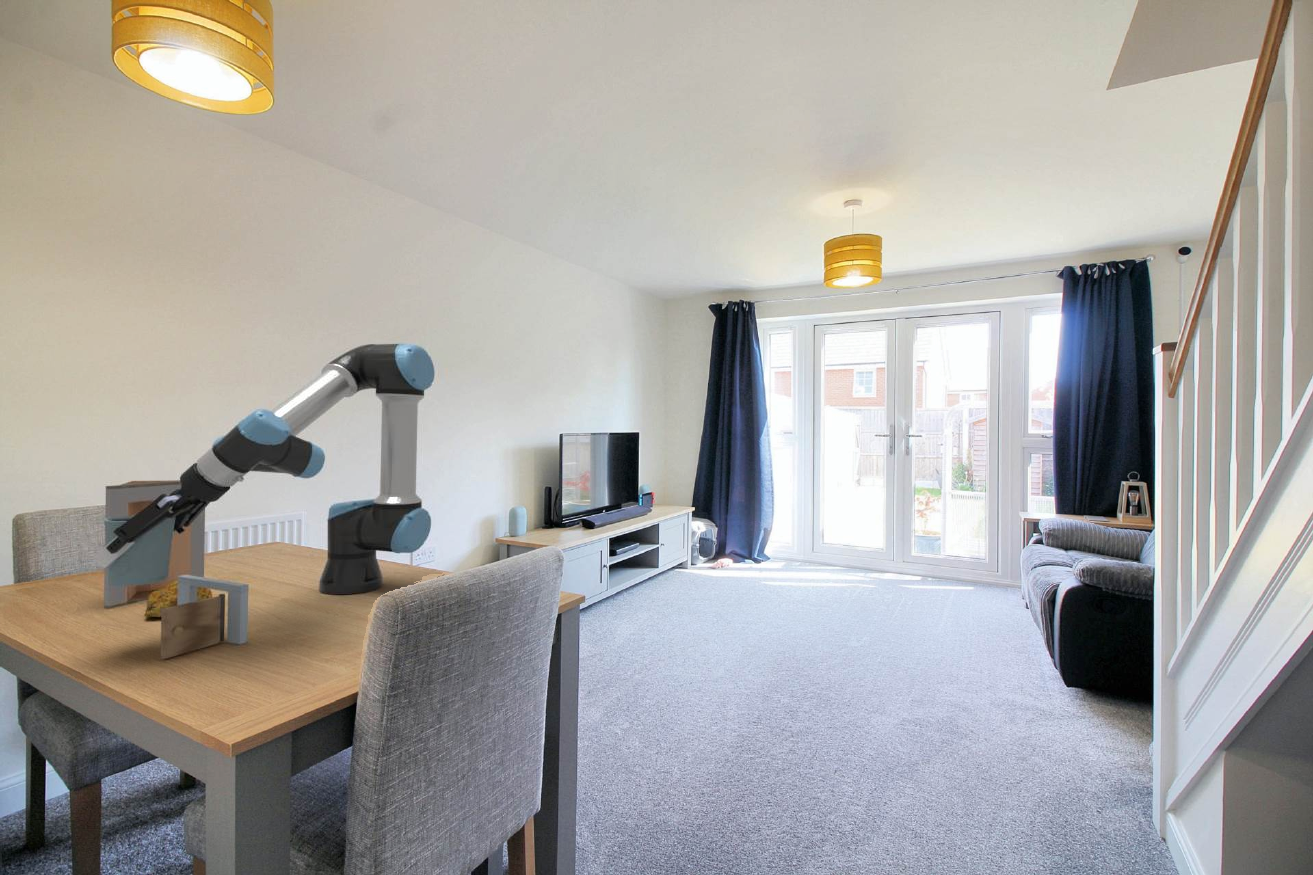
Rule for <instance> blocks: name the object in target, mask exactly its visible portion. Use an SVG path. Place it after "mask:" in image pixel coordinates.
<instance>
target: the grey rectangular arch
mask: <svg viewBox="0 0 1313 875" xmlns="http://www.w3.org/2000/svg"><path fill="white" fill-rule="evenodd" d="M197 587H202V588H208V589H210V590H215V591H222V592H227V630H226V631H227V633H226V634H227V635H226V636H227V637H226V639H227V641H226V642H227V643H230V644H237V645H242V644H245V643H248V635H249V634H248V625H249V623H248V621H249V620H248V619H249V616H248V615H249V584H248V583H241V582H235V581H230V580H222V579H218V578H217V579H215V578H210V577H209V578H208V577H205V576H204V577H198V576H191V575H182V576H178V598H177V605H181V604H186V603H190V602H195V601H197Z"/></svg>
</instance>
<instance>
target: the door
mask: <svg viewBox="0 0 1313 875" xmlns="http://www.w3.org/2000/svg"><path fill="white" fill-rule="evenodd" d="M225 610H226V594H225V593H220V594H218V595H217V596H212V598H208V599H203V600H199V601H195V602H190V603H186V604H181V605H177V606H173V607H168V608H164V609H162V611H161V620H160V626H161V627H160V628H161V629H160V630H161V631H160V659H162V660H165V659H169V658H172V657H175V656H180V655H182V654H186V653H189V652H193V651H197V650H199V649H202V648H206V647H210V646H214V645H217V644H221V642H224V641H225V630H226V629H225V627H226V626H225V622H226V621H225V620H226V611H225Z"/></svg>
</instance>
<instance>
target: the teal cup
mask: <svg viewBox="0 0 1313 875" xmlns="http://www.w3.org/2000/svg"><path fill="white" fill-rule="evenodd" d="M134 516H135V515H129V516H118V517H111V518H107V519H105V518H104V521H103V522H104V534H105V533H106V537H107V538H106V545H107V544H108V543H110V542H111V541H112V540H113V539H114V538H115V537H116V535H115V534H114V533H113V532H114V531H115V529H116V528H119V527H120V526H121V525H123V524H124V523H126V522H127V521H128V520H130V519H131V518H132V517H134ZM174 524H175V517H174V518H167V519H166V520H164V521H163V522H161V523H160V524H158V525H157V526H155V527H154V528H152V529H151V530H149V531H148V532H146V533H145V534H143V535H142V536H140V537H139V538H137V539H136V540H134V542H135V543H134V544H133V545H132V546H131V547H130V548H128V549H127V550H126V551H125V552H124V553H123V554H122V555H121V556H119V557H118V558H117V559H116V560H115V561H114V562H113V563H112V564H111V565H109V566H108V582H109V584H110V585H112V586H136V585H145V584H151V583H156V582H160V581H163V580H165V579H167V577H168V573H169V568H168V567H169V563H170V552H171V546H172V544H171V542H172V537H173V530H174Z"/></svg>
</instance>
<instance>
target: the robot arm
mask: <svg viewBox="0 0 1313 875" xmlns="http://www.w3.org/2000/svg"><path fill="white" fill-rule="evenodd" d="M434 380H435V366H434V363H433V360H432V358H431V355H429V353H428V352H427V350H425V348H424V347H422V346H421V345H417V344H411V343H402V342H401V343H386V344H385V343H381V344H379V343H378V344H375V343H373V344H371V343H369V344H363V345H359V346H357V347H355V348H353V349H350V350H349V351H346V352H345V353H342V354H341V355H339V356H337V357H336V358H334V359H333V360H331V361H330V362H329V363H327V364H326V365H325V366H323V368H322V369H321V374H319V375H318V376H316V378H314V379H313V380H312V381H310V382H309V383H307V384H306V385H304V386H303V387H302V388H300V389H299V390H298V391H297V392H295V393H293V394H292V395H291V396H289V397H288V398H286V399H285V400H284V401H282V402H281V403H279V404H278V405H277V406H275V407H274V408H273V409H271V410H268V409H266V408H258V409H255V410H254V411H252V412H251V413H250V414H249V415H247V416H246V417H244V418H243V419H241V420H240V421H239V422H238V423H237V424H236V425H235V426H234V427H233V428H232V429H231V430H230V431H229V432H227V434H225V435H221V436H220V437H218V438H216V439H215V441H214V442H213V444H212V446H211V448H209V449H208V450H207V451H206V452H205V453H204V454H203V455H201V456H200V457H199V458H198V459H197V461H196V462H194V463H193V464H192V465H190V466H189V467H188V468H187V469H186V470H185V471H183V473H181V475H180V476H179V480H180V482H181V489H177V490H175V491H174V492H172V493H171V494H170V495H169V496H167V495H166V494H161V495H160V496H159V497H158V498H157V499H156V500H155V501H154V502H153V503H151V504H150V505H149V506H147V507H146V508H144V509H143V510H142V511H140V512H139V513H138V514H136V515H135V516H134V517H132V518H131V519H130V520H128V521H127V522H126V523H124V524H123V525H121V526H120V527H119V528H116V529H115V531H114V532H113V533H114V534H115V535H116V537H115V538H114V539H113V540H112V541H111V542H110V543H108V544H107V545H106V546H105V545H104V547H103V548H102V549H100V551H98V552H97V553H96V554H95V555H94V556H92V559H93V560H94V561H95V562H96V563H98V564H99V565H100V566H101V567H102V568H103V569H104V568H107V567H108V566H109V565H111V564H112V563H113V562H114V561H115V560H116V559H117V558H118V557H119V556H121V555H122V554H123V553H124V552H125V551H126V550H127V549H128V548H130V547H131V546H132V545H133V544H134V543H135V542H134V540H136V539H137V538H139V537H140V536H142V535H143V534H145V533H146V532H148V531H149V530H151V529H152V528H154V527H155V526H157V525H158V524H160V523H161V522H163V521H164V520H166V519H167V518H174V517H175V524H174V530H173V534H174V533H175V532H174V531H175V530H176V531H177V532H178V533H179V534H181V533H182V532H184V531H185V530H184V529H183V528H182V527H183V526H184V527H188V526H189V525H190V524H191V523H192V522H193V521H194V520H195V519H196V517H197V516H198V515H199V514H200V513H201V512H202V511H203V510H204V509H205V510H206V508H207V507H208V505H209V504H210V503H215V502H217V501H219V499H220V498H222V497H223V496H224V495H225V494H226V493H227V492H229V491H230V489H231V487H233V486H235V485H236V484H237V483H238V482H241V483H242V482H243V481H244V479H245V478H244V476H245V475H247V474H248V473H250V472H259V473H260V472H261V473H271V474H272V473H273V474H274V473H275V474H286V475H287V474H288V475H291V476H292V477H294V478H301V479H311V478H314V477H315V476H317V475H318V474H319V473H320V472H321V471H322V469H323V468H324V464H325V461H326V455H325V453H324V450H323V449H322V448H321V447H320V446H318V445H316V444H314V443H313V442H311V441H308V440H305V439H303V438H300V437H298V435H299V434H300V433H301V432H303V431H304V430H305V429H306V428H308V427H309V426H310V425H311V424H313V423H314V422H315V421H317V420H318V419H319V418H321V417H322V416H323V415H324V414H325V413H326V412H327V411H329V410H330V409H332V408H333V407H334V406H335V405H336V404H338V403H339V402H340V401H341V400H342V399H344V398H350V397H353V396H355V394H357V393H358V392H361V391H365V390H369V389H375V396H376V397H377V398H378V399H379V400H380V401H381V427H380V428H381V432H380V435H381V436H380V438H381V439H380V440H381V441H380V478H379V479H380V480H379V481H380V482H379V483H380V484H379V486H380V488H379V495H378V496H377V497H376V498H375V499H372V498H369V499H360V500H351V501H344V502H343V501H342V502H338V503H334V504H332V505H330V507H329V508H328V516H327V519H326V520H327V521H326V522H327V556H326V557H327V558H326V559H327V560H326V563H325V565H324V568H323V570H322V573H321V576H320V579H319V582H318V585H319V586H318V590H319V592H321V593H323V594H328V595H351V594H352V595H353V594H362V593H367V592H370V591H374V590H377V589H379V588H381V587H382V586H383V585H384V584H383V583H384V582H383V581H384V580H383V579H384V577H383V573H382V570H381V568H380V564H379V562H378V558H377V552H379V551H380V552H386V553H387V552H389V553H393V554H394V553H395V554H401V553H402V554H411V553H415V552H416V551H418V550H419V549H420V548H422V547H423V546H424V544H425V543H426V541H427V539H428V538H429V534H430V533H431V528H432V518H431V515H430V513H429V511H428V510H426V509H425V508H422V507H423V506H422V505H423V502H422V498H420V496H418V494H417V461H418V460H417V458H418V457H417V453H418V451H417V450H418V443H417V442H418V408H419V403H420V401H422V400H423V399H424V398H425V391H426V390H427V389H429V388H431V386H432V385H433V384H432V383H433V382H434ZM169 509H170V510H171V511H172V512H173V513H170V512H169V511H168V510H169Z"/></svg>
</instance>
